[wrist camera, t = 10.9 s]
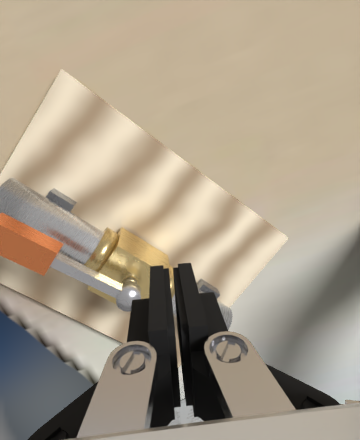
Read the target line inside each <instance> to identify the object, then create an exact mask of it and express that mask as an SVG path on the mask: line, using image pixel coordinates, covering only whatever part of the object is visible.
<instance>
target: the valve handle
mask: <svg viewBox="0 0 360 440" xmlns="http://www.w3.org/2000/svg"><path fill="white" fill-rule="evenodd" d="M63 245H64V244H63V243H61V242H59V241H57V240H55V239H53V238H51V237H49V236H47V235H46V234H44V233H42V232H40V231H38V230H36V229H34V228H32V227H30V226H28V225H26V224H24V223H22V222H20V221H18V220H16V219H14V218H12V217H10V216H8V215H6V214H4V213H0V256H2V257H4V258H7V259H9V260H11V261H13V262H15V263H17V264H19V265H22V266H24V267H26V268H28V269H30V270H32V271H34V272H36V273H39V274H41V275H43V276H44V275H45V274H46V272H47V271H48V269H49V268H50V267H52V268H54V269H56V270H58V271H60V272H62V273H64V274H66V275H68V276H70V277H72V278H75V279H77V280H79V281H81V282H83V283H85V284H87V285H89V286H91V287H93V288H95V289H97V290H99V291H102V292H104V293H106V294H108V295H110V296H112V297H114V298H116V304H117V306H118V308H119V309H121V310H123V311H126V312H130V311H131V305H132V300H136V299H141V288H140V286H139V285H138V284H137V283H136V282H133V281H126V282H123V283H122V284H121V283H119V282H117V281H115V280H113V279H111V278H109V277H107V276H105V275H103V274H101V273H99V272H96V271H94V270H92V269H90V268H88V267H86V266H84V265H82V264H80V263H78V262H76V261H74V260H72V259H70V258H68V257H66V256H64V255H62V254H60V253H59V251H60V250H61V248H62V246H63Z"/></svg>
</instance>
